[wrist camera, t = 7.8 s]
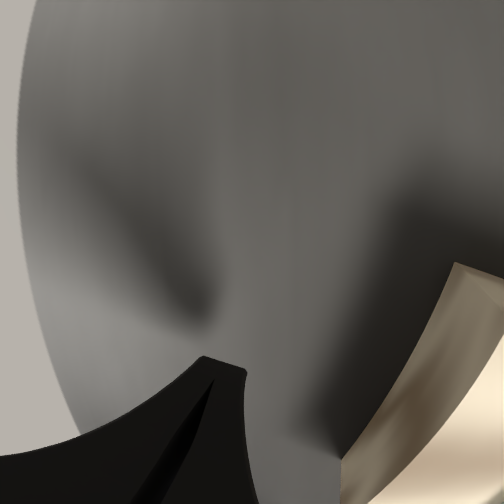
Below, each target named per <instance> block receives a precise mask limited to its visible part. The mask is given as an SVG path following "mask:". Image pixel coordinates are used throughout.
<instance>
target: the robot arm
mask: <svg viewBox="0 0 504 504" xmlns="http://www.w3.org/2000/svg"><path fill="white" fill-rule="evenodd" d="M246 376H247V371H246V370H245V369H244V368H241V367H238V366H234V365H231V364H228V363H225V362H222V361H218V360H215V359H212V358H209V357H206V356H202V357H199V358H198V359H197V360H196V361H195V362H194V363H193V364H192V365H191V366H190V367H189V368H188V369H187V370H186V371H184V372H183V373H182V374H181V375H180V376H179V377H177V378H176V379H175V380H174V381H173V382H171V383H170V384H169V385H167V386H166V387H165V388H163V389H162V390H161V391H159V392H158V393H157V394H155V395H154V396H152V397H151V398H150V399H148V400H147V401H145V402H143V403H142V404H140V405H139V406H137V407H136V408H134V409H132V410H131V411H129V412H128V413H126V414H124V415H122V416H121V417H119V418H117V419H115V420H113V421H111V422H109V423H107V424H105V425H103V426H101V427H99V428H97V429H95V430H93V431H90V432H88V433H85V434H83V435H80V436H78V437H76V438H73V439H70V440H67V441H65V442H62V443H58V444H55V445H51V446H48V447H44V448H41V449H36V450H32V451H28V452H24V453H18V454H11V455H4V456H0V504H259V503H258V499H257V496H256V492H255V488H254V484H253V479H252V475H251V470H250V465H249V459H248V452H247V445H246V437H245V424H244V388H245V381H246Z"/></svg>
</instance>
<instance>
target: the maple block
mask: <svg viewBox="0 0 504 504" xmlns="http://www.w3.org/2000/svg"><path fill="white" fill-rule="evenodd" d="M503 502H504V279H502V278H499V277H496V276H494V275H491V274H488V273H485V272H482V271H480V270H477V269H474V268H471V267H468V266H465V265H462V264H459V263H456V262H454V265H453V267H452V270H451V272H450V275H449V277H448V279H447V282H446V284H445V287H444V289H443V291H442V293H441V296H440V298H439V300H438V302H437V305H436V307H435V309H434V311H433V313H432V315H431V317H430V319H429V321H428V323H427V325H426V327H425V329H424V331H423V333H422V335H421V337H420V339H419V341H418V343H417V345H416V347H415V349H414V350H413V352H412V354H411V356H410V358H409V360H408V361H407V363H406V365H405V367H404V368H403V370H402V372H401V374H400V375H399V377H398V379H397V380H396V382H395V384H394V385H393V387H392V388H391V390H390V392H389V393H388V395H387V396H386V398H385V400H384V401H383V403H382V404H381V406H380V407H379V409H378V410H377V412H376V413H375V415H374V416H373V418H372V419H371V421H370V422H369V424H368V425H367V426H366V428H365V429H364V431H363V432H362V433H361V435H360V436H359V438H358V439H357V440H356V442H355V443H354V444H353V446H352V447H351V448H350V450H349V451H348V452H347V453H346V455H345V456H344V457H343V459H342V460H341V494H340V504H501V503H503Z"/></svg>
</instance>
